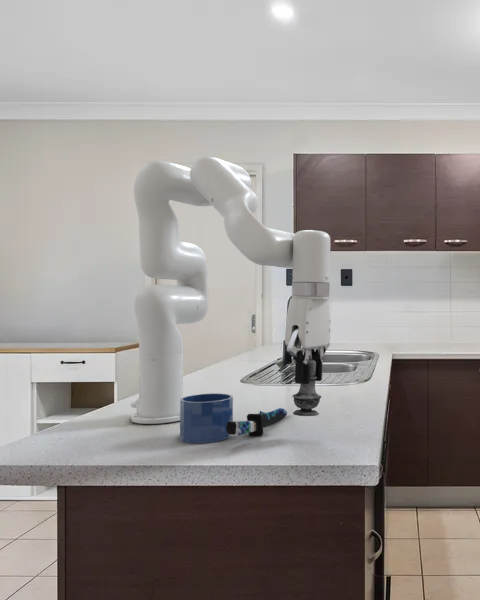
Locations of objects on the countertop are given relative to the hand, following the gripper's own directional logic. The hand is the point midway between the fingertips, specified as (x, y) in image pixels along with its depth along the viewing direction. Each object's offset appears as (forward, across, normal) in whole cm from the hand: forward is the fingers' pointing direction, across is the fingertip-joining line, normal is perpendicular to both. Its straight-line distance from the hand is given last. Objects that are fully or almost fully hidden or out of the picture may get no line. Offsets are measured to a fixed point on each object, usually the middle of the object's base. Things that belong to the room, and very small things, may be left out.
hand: (308, 380), depth 105 cm
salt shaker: (+7, 0, 0) cm, 7 cm away
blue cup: (+12, +8, -19) cm, 24 cm away
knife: (+12, 0, -11) cm, 17 cm away
